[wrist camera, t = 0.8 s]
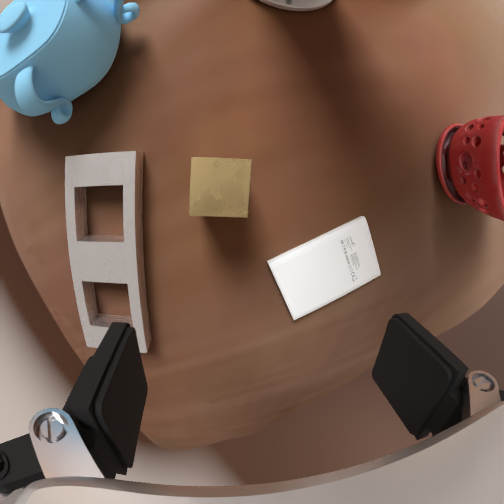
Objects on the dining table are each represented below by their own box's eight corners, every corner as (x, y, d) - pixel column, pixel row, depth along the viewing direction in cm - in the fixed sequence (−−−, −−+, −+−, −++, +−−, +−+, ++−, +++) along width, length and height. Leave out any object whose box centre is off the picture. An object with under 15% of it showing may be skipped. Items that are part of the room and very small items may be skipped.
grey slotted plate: (78, 156, 25) (65, 156, 22) (143, 152, 26) (136, 151, 23) (95, 333, 31) (87, 346, 28) (151, 339, 32) (147, 353, 29)
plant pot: (457, 223, 33) (516, 245, 22) (413, 160, 30) (484, 166, 18) (487, 164, 31) (542, 173, 20) (449, 101, 28) (511, 94, 16)
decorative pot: (6, 90, 20) (-60, 76, 7) (79, -7, 17) (36, -54, 4) (73, 142, 24) (-6, 136, 11) (161, 28, 22) (133, -42, 9)
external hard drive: (265, 259, 32) (359, 214, 31) (291, 315, 34) (375, 271, 34) (268, 264, 30) (366, 217, 30) (294, 321, 33) (382, 276, 32)
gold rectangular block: (199, 161, 27) (191, 157, 18) (240, 162, 28) (251, 159, 19) (197, 201, 28) (189, 215, 20) (238, 202, 29) (247, 217, 20)
